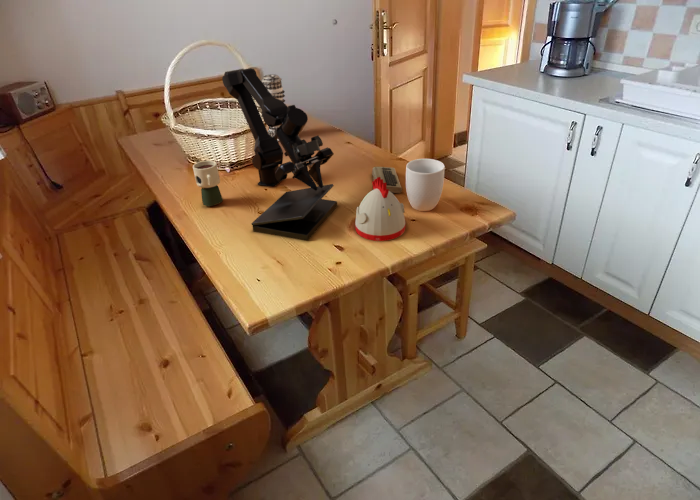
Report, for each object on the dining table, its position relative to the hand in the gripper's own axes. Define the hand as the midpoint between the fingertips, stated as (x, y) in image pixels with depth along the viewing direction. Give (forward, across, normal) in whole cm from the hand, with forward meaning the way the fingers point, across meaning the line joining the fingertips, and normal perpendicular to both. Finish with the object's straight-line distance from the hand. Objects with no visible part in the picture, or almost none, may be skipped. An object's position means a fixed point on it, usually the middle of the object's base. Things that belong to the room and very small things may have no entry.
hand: (319, 188), depth 138 cm
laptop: (+4, -8, +6) cm, 11 cm away
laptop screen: (+1, -8, +4) cm, 9 cm away
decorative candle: (-39, +31, +50) cm, 70 cm away
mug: (+20, +23, -9) cm, 32 cm away
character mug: (-16, -20, +26) cm, 36 cm away
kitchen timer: (+20, +4, -9) cm, 22 cm away
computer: (+7, +27, +4) cm, 28 cm away
